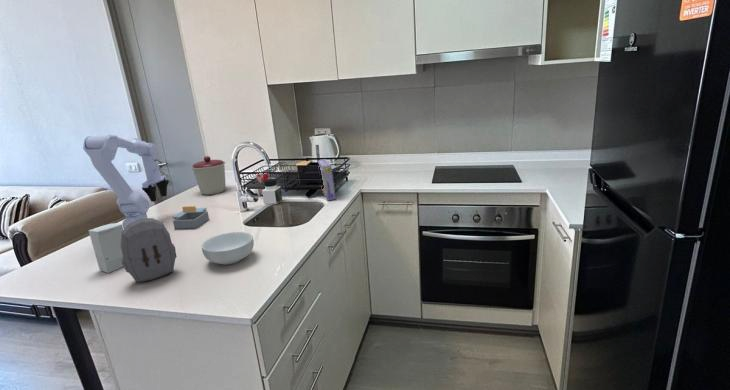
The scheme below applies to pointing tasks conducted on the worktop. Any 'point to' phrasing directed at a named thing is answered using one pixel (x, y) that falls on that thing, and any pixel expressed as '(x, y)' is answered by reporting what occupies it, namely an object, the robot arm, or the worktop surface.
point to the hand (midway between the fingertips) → (159, 198)
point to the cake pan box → (327, 179)
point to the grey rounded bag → (147, 249)
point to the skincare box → (107, 246)
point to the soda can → (262, 179)
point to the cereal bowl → (228, 247)
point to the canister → (210, 176)
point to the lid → (189, 210)
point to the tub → (191, 220)
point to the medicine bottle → (271, 192)
